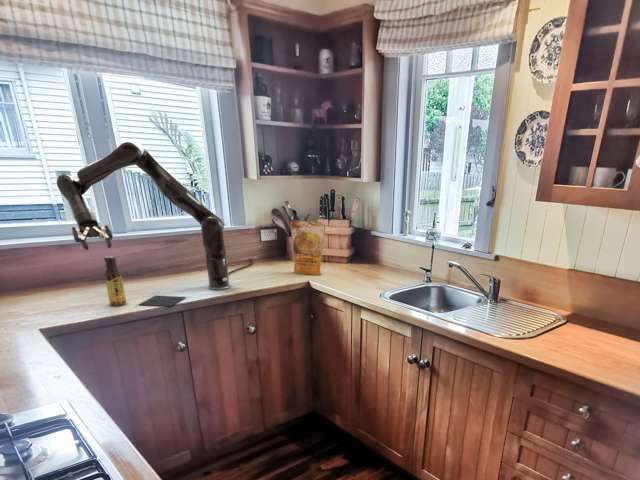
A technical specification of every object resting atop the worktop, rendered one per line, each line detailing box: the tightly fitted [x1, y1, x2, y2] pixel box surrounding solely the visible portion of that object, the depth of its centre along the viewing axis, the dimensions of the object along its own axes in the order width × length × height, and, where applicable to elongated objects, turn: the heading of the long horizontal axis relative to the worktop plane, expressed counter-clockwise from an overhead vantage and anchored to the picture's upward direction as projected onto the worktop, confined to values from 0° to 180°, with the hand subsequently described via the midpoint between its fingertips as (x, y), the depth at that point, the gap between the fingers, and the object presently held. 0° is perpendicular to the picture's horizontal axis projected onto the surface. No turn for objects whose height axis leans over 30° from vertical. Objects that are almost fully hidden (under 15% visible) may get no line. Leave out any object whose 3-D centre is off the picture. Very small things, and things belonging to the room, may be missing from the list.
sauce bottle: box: [103, 255, 127, 307], centre depth 194 cm, size 6×6×20 cm
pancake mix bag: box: [289, 219, 326, 276], centre depth 255 cm, size 7×19×28 cm, turn 74°
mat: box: [139, 295, 186, 308], centre depth 203 cm, size 14×14×1 cm
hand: (98, 248), depth 196 cm, fingers open, 8 cm apart
